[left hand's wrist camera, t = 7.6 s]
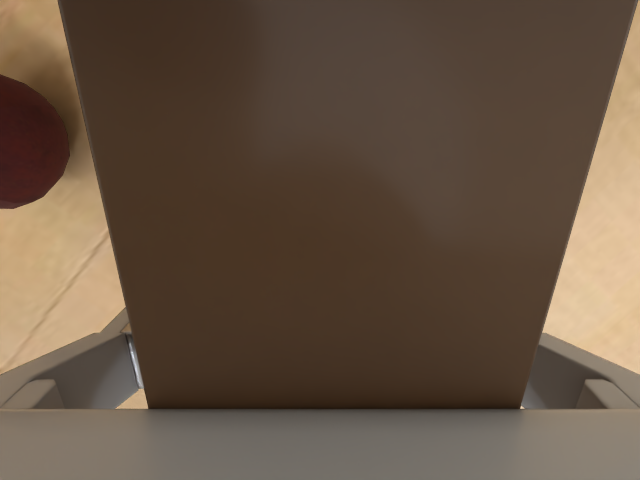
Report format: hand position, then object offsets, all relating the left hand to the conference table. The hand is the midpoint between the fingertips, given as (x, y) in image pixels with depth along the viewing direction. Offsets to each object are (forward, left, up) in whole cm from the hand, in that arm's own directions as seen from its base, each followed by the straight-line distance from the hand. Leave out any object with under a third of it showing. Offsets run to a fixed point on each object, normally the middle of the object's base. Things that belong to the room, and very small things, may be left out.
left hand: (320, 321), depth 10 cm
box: (-2, +9, -5) cm, 10 cm away
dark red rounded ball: (-19, -1, -15) cm, 25 cm away
